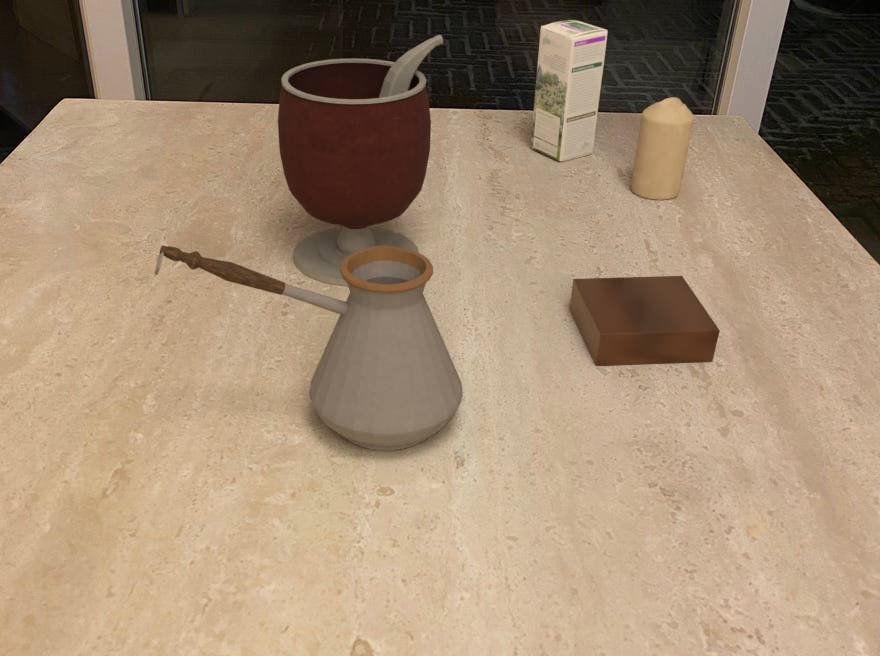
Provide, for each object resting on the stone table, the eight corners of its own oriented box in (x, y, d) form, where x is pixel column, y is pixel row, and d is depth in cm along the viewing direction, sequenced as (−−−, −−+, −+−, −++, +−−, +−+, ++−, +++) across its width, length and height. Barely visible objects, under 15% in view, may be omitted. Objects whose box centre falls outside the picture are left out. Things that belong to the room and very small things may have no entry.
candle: (642, 178, 117) (657, 89, 110) (687, 189, 114) (704, 99, 108) (622, 192, 113) (636, 102, 107) (667, 204, 111) (684, 112, 104)
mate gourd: (314, 301, 92) (305, 74, 79) (267, 241, 101) (252, 31, 89) (465, 272, 97) (478, 54, 84) (406, 217, 107) (409, 16, 94)
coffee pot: (448, 377, 81) (457, 200, 72) (473, 461, 72) (486, 271, 63) (183, 391, 79) (157, 210, 70) (174, 479, 70) (143, 285, 61)
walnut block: (676, 305, 92) (682, 275, 90) (712, 361, 84) (720, 330, 82) (569, 308, 91) (573, 278, 89) (595, 366, 83) (600, 334, 81)
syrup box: (594, 154, 123) (611, 28, 114) (558, 163, 120) (572, 35, 111) (563, 140, 126) (577, 17, 117) (527, 149, 124) (539, 23, 115)
